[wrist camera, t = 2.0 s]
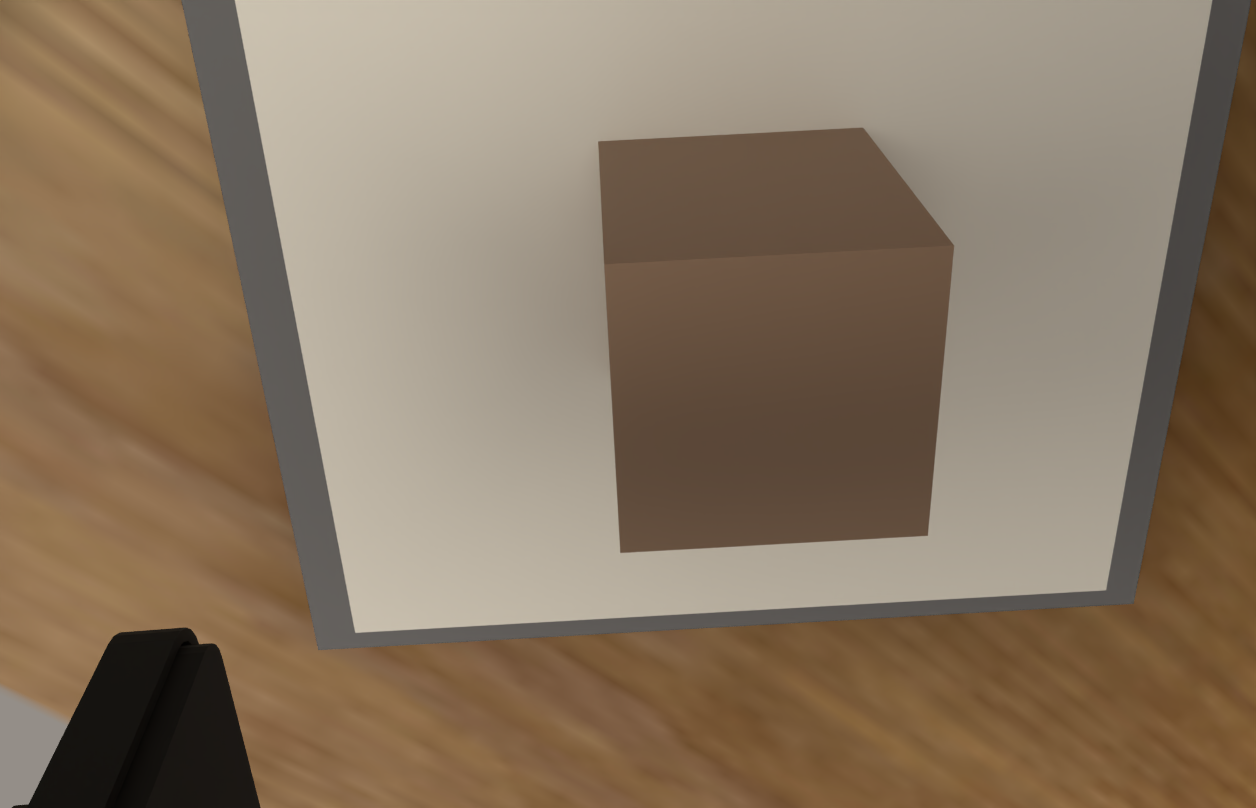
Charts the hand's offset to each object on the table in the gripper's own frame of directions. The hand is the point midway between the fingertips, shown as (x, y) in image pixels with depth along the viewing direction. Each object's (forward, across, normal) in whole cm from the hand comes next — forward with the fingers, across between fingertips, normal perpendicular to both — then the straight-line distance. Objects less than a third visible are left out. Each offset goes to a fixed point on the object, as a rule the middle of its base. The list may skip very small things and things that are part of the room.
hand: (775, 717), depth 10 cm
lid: (+11, -1, 0) cm, 11 cm away
